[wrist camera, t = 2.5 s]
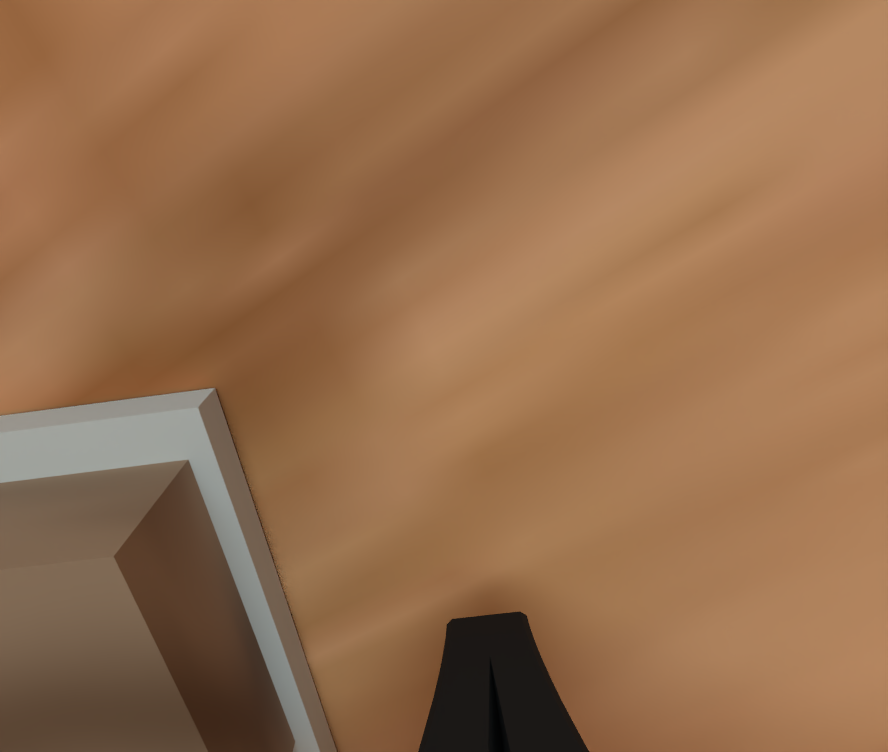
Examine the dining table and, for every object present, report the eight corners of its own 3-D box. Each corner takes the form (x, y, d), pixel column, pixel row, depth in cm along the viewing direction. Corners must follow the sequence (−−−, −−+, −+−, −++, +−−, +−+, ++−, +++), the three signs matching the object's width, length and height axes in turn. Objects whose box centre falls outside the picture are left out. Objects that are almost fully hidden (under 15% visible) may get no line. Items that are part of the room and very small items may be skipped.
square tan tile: (294, 741, 13) (265, 869, 11) (-23, 773, 13) (-118, 904, 11) (188, 459, 10) (113, 556, 8) (-226, 510, 10) (-417, 618, 8)
